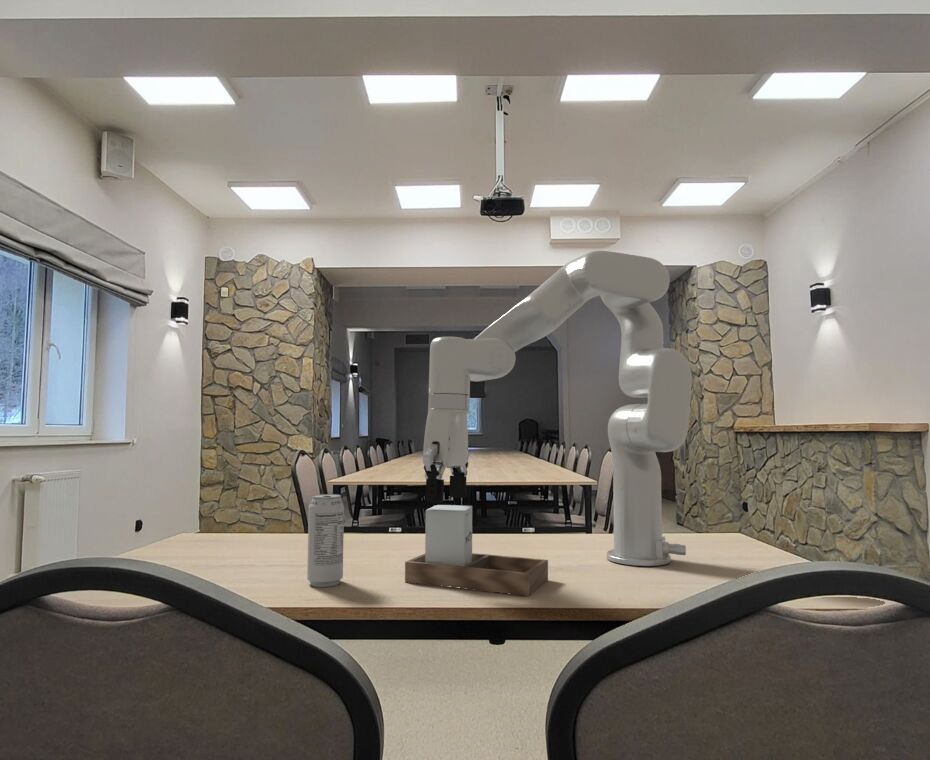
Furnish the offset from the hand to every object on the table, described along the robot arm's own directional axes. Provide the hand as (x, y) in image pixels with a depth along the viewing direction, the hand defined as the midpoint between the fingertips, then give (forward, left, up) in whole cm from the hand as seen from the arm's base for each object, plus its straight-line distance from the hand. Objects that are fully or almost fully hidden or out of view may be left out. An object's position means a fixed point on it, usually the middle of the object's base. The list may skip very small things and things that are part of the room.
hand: (446, 499), depth 112 cm
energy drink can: (+18, +12, -14) cm, 25 cm away
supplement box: (0, 0, -14) cm, 14 cm away
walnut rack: (-6, 0, -14) cm, 15 cm away
